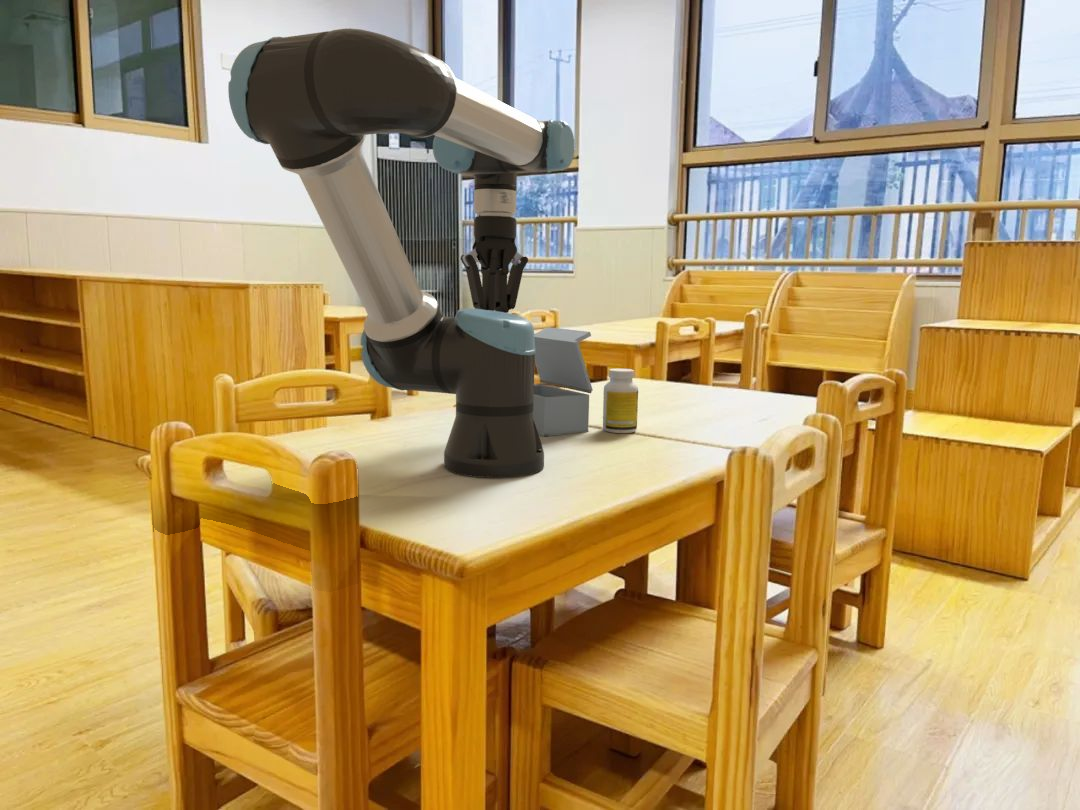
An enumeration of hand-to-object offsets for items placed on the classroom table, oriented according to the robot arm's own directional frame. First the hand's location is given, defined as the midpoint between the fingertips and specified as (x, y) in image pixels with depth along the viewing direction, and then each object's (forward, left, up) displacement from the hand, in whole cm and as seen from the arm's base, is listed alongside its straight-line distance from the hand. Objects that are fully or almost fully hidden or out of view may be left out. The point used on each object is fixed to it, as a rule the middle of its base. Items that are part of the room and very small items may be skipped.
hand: (494, 348), depth 147 cm
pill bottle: (+22, -10, -16) cm, 29 cm away
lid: (+14, 0, -3) cm, 14 cm away
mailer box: (+11, 0, -15) cm, 19 cm away
